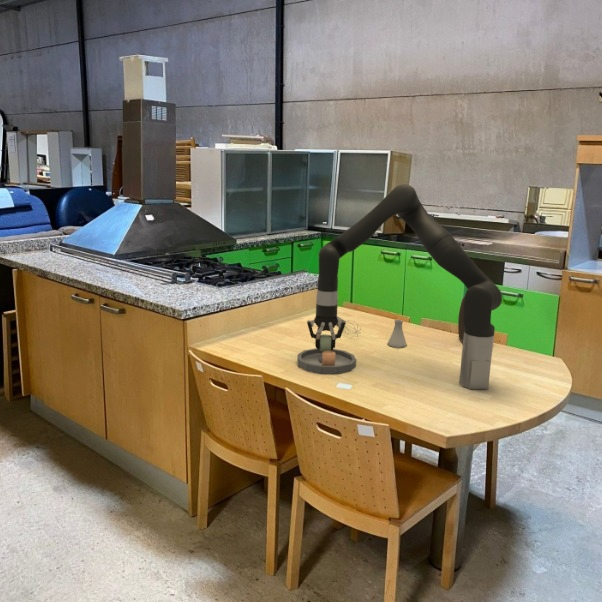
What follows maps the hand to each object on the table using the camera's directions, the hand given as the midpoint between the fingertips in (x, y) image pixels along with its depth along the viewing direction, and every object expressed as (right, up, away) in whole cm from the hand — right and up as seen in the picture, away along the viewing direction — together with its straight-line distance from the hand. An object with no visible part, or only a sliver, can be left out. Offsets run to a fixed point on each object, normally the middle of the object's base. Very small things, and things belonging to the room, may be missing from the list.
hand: (324, 348), depth 217 cm
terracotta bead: (+1, -5, -11) cm, 12 cm away
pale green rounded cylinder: (0, 0, 0) cm, 0 cm away
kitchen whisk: (+9, +5, +40) cm, 41 cm away
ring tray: (0, -5, -5) cm, 7 cm away
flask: (+29, 0, +19) cm, 34 cm away
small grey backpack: (+59, 0, +25) cm, 64 cm away
